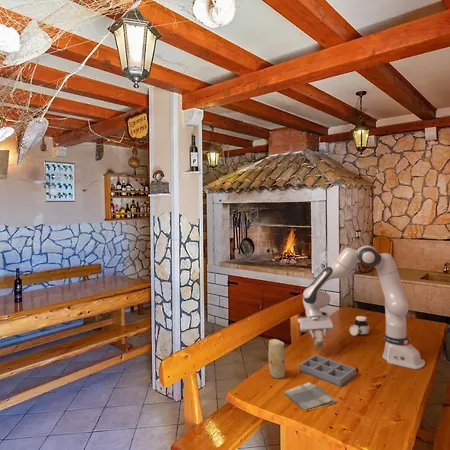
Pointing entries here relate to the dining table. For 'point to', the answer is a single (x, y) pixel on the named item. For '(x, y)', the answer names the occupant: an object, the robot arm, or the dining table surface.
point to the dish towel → (309, 396)
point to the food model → (276, 358)
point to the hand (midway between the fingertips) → (319, 337)
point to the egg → (318, 338)
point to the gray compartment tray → (327, 370)
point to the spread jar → (359, 326)
